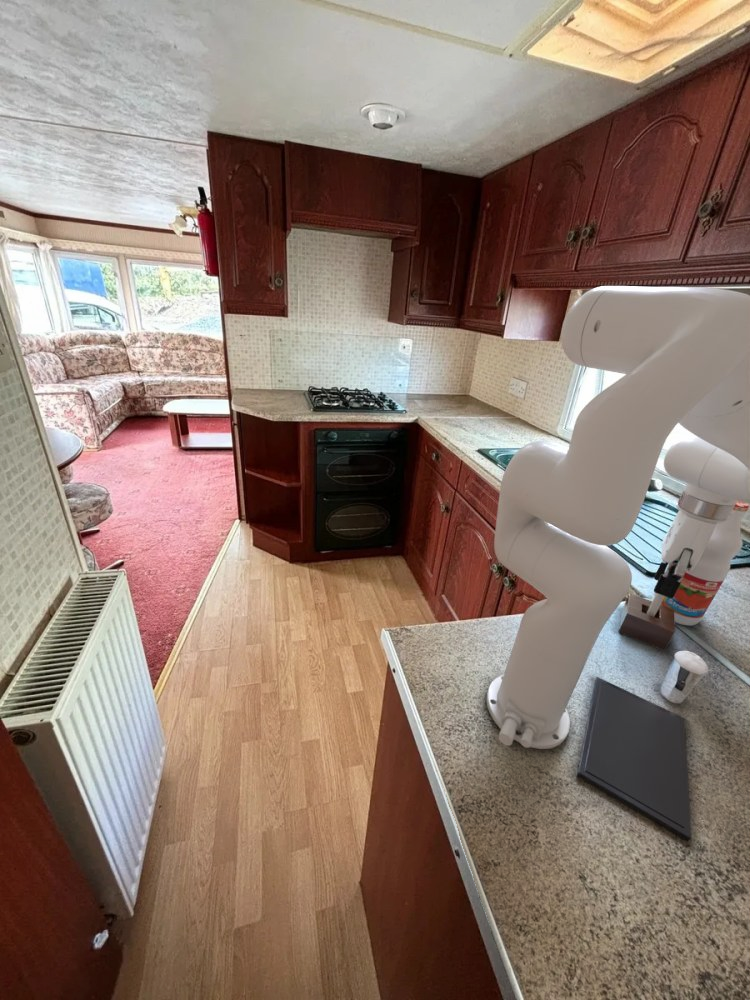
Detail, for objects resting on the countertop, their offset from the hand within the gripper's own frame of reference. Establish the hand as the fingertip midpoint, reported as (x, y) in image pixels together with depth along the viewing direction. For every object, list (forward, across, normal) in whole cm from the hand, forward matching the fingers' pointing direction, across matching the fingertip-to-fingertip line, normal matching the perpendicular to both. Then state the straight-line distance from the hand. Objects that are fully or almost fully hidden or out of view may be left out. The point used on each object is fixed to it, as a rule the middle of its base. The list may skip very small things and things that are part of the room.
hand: (663, 587), depth 80 cm
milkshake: (+11, +16, +5) cm, 21 cm away
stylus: (+11, 0, 0) cm, 11 cm away
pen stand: (+11, 0, 0) cm, 11 cm away
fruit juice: (+11, -12, +6) cm, 18 cm away
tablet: (+11, +31, 0) cm, 33 cm away
